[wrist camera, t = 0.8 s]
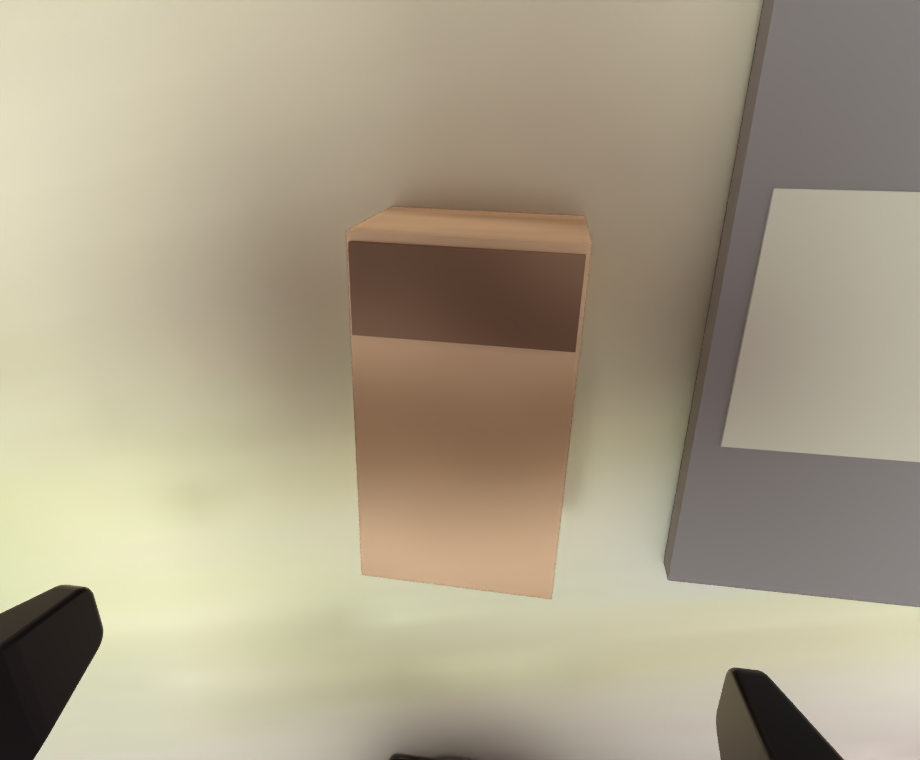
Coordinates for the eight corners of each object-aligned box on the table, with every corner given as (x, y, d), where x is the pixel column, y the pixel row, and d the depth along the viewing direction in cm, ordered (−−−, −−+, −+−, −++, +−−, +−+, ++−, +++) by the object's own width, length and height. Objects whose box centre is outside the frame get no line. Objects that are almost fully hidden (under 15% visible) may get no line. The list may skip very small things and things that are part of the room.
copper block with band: (553, 508, 19) (551, 604, 15) (397, 491, 20) (359, 579, 16) (584, 214, 16) (592, 246, 12) (393, 205, 16) (342, 232, 12)
